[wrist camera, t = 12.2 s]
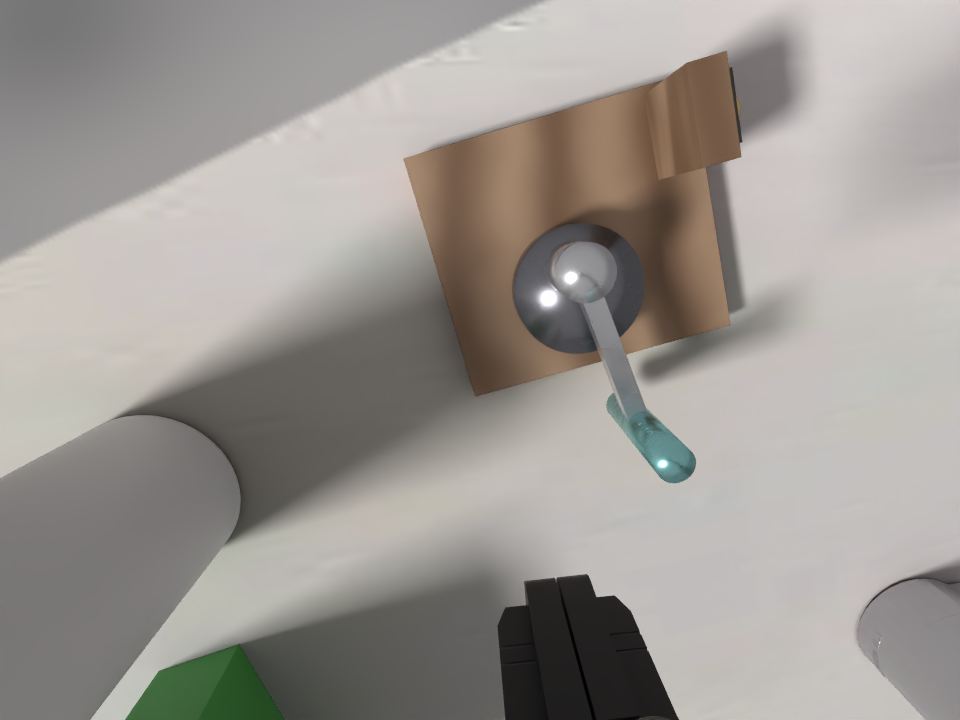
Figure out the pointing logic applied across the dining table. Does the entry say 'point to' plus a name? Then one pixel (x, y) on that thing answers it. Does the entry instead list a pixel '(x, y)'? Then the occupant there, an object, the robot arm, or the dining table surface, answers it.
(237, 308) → the dining table surface
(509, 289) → the stand
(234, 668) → the hardback book
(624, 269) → the lever
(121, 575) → the cylinder vase
